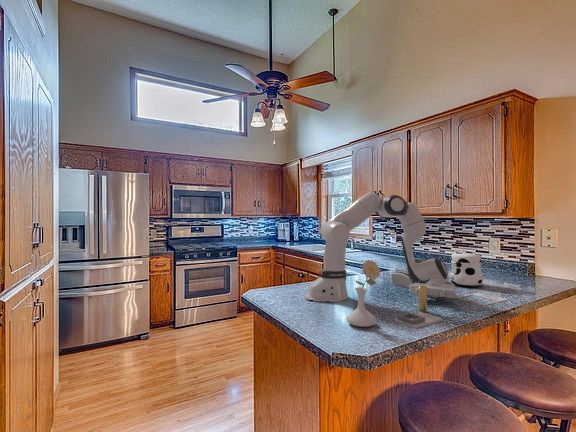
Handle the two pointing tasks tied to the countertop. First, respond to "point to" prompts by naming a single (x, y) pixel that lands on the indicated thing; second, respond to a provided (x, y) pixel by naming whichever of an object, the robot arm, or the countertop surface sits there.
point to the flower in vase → (361, 314)
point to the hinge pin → (423, 299)
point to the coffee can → (418, 262)
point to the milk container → (466, 270)
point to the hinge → (402, 279)
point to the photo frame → (484, 297)
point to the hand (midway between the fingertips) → (428, 293)
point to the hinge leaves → (417, 319)
